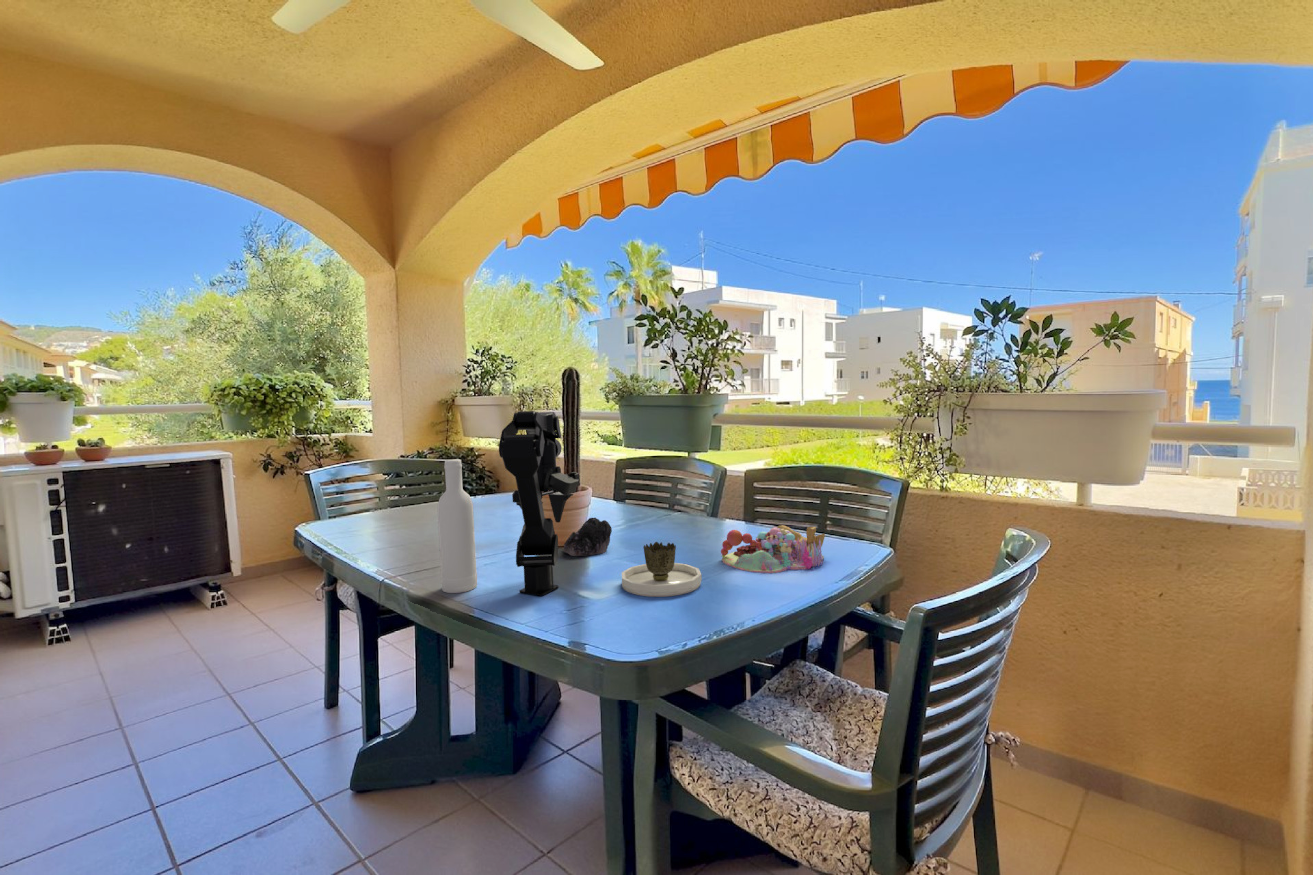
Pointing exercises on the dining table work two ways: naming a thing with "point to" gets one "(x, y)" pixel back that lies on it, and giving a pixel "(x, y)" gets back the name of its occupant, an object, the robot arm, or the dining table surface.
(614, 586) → the dining table surface
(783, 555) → the pastel sphere sculpture
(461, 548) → the bottle
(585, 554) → the crystal cluster
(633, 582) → the dish
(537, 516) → the robot arm
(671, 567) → the cup
